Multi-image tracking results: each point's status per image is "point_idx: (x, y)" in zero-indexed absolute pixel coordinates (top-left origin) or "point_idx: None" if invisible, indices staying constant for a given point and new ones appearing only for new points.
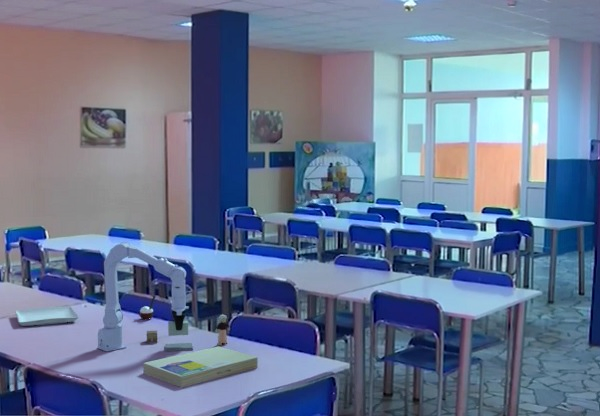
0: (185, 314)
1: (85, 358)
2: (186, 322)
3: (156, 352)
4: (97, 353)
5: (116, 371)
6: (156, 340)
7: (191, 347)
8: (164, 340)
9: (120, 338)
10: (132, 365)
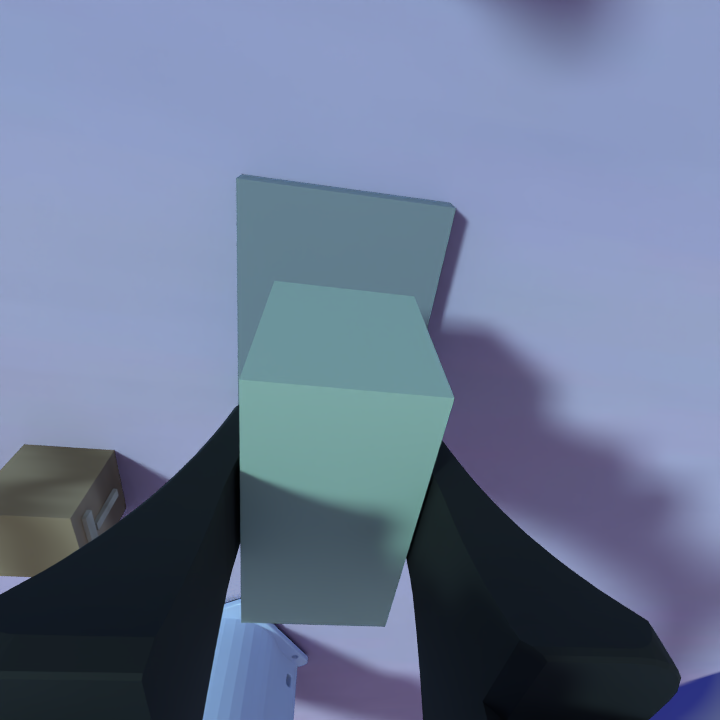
0: (668, 670)
1: (399, 698)
2: (392, 418)
3: None
4: (327, 675)
5: (677, 626)
6: (106, 469)
7: (447, 221)
8: (25, 396)
9: (244, 684)
10: (626, 581)
